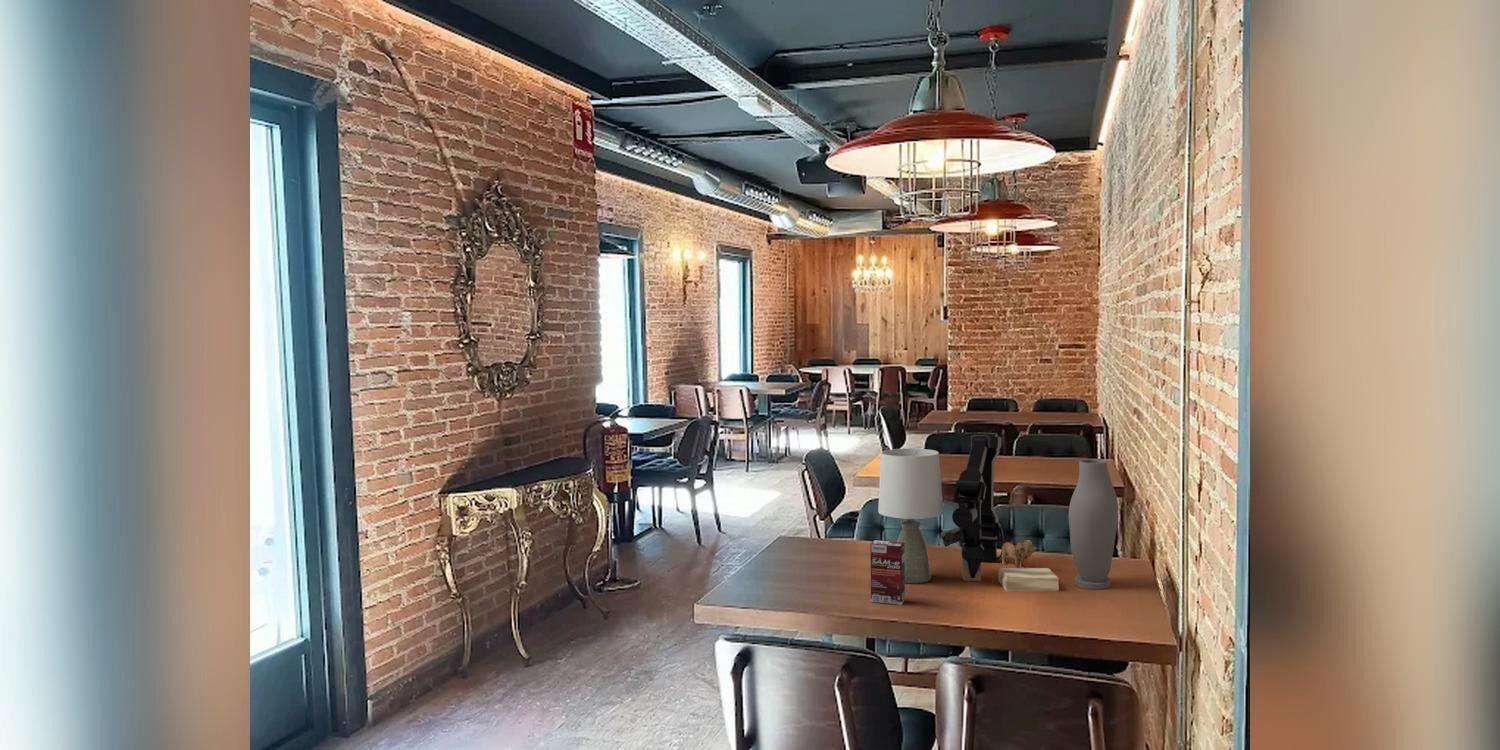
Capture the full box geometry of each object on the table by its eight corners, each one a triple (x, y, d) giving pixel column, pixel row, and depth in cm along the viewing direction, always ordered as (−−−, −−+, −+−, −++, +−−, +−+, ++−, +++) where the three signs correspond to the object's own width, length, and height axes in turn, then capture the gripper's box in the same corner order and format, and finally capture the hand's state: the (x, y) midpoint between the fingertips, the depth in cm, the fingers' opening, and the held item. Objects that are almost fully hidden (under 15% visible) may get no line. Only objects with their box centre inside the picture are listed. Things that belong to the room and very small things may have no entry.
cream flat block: (998, 582, 248) (998, 567, 248) (1048, 582, 247) (1048, 567, 247) (1006, 592, 239) (1006, 577, 238) (1058, 592, 237) (1058, 577, 237)
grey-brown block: (962, 575, 255) (961, 555, 254) (979, 576, 254) (979, 556, 253) (963, 580, 250) (962, 560, 249) (981, 581, 249) (980, 560, 248)
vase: (1074, 575, 252) (1073, 455, 249) (1122, 581, 245) (1122, 458, 243) (1064, 588, 240) (1063, 463, 238) (1115, 594, 234) (1114, 466, 231)
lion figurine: (1039, 570, 259) (1038, 540, 258) (1026, 573, 256) (1026, 542, 256) (1001, 559, 271) (1001, 531, 271) (989, 562, 269) (988, 533, 268)
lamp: (950, 573, 258) (948, 449, 256) (936, 590, 241) (934, 458, 239) (889, 567, 265) (887, 447, 263) (871, 584, 249) (869, 455, 247)
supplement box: (870, 602, 232) (869, 543, 231) (874, 597, 236) (873, 539, 236) (902, 605, 229) (901, 545, 228) (905, 600, 233) (905, 541, 233)
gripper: (941, 513, 262) (942, 564, 262) (943, 527, 243) (943, 582, 244) (979, 513, 259) (980, 565, 260) (984, 528, 241) (984, 583, 242)
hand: (971, 573), depth 252 cm, fingers open, 9 cm apart
